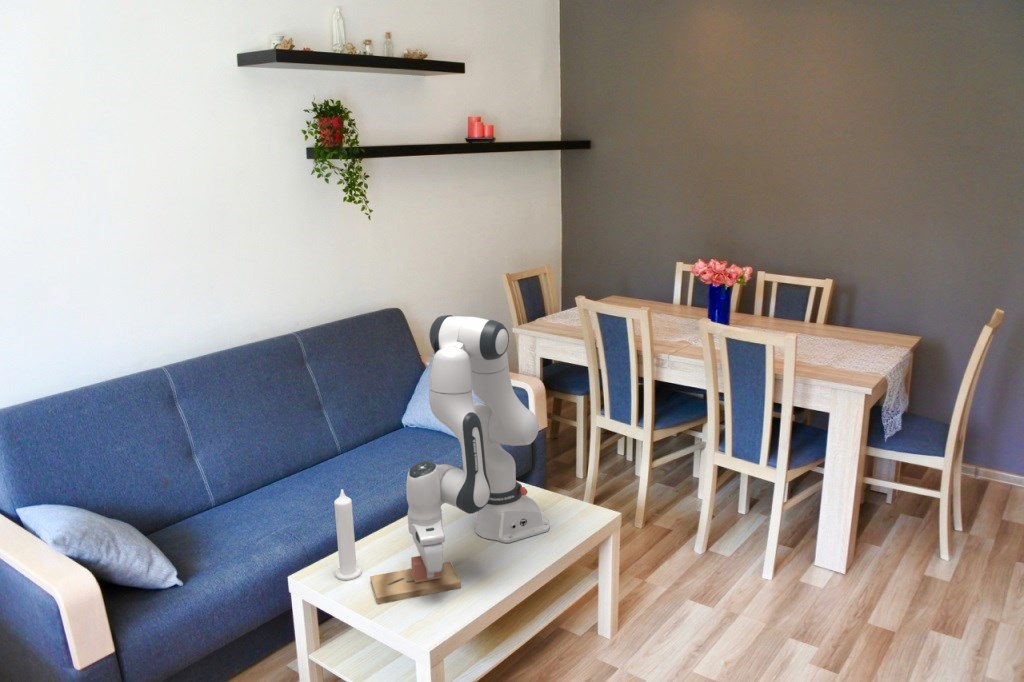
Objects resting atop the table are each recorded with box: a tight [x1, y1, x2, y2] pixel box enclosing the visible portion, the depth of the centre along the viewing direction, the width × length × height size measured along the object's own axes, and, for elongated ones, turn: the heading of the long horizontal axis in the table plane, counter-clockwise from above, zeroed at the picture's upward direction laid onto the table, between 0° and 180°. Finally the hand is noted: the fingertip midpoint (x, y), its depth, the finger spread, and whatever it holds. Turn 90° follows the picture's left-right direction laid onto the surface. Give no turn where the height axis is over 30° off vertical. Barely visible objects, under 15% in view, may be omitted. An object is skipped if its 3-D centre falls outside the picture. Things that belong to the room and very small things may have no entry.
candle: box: [333, 488, 363, 581], centre depth 218 cm, size 7×7×25 cm
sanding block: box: [410, 555, 441, 583], centre depth 215 cm, size 7×4×5 cm, turn 108°
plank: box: [369, 561, 462, 605], centre depth 215 cm, size 22×11×2 cm, turn 108°
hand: (427, 570), depth 215 cm, fingers closed on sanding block, 4 cm apart
